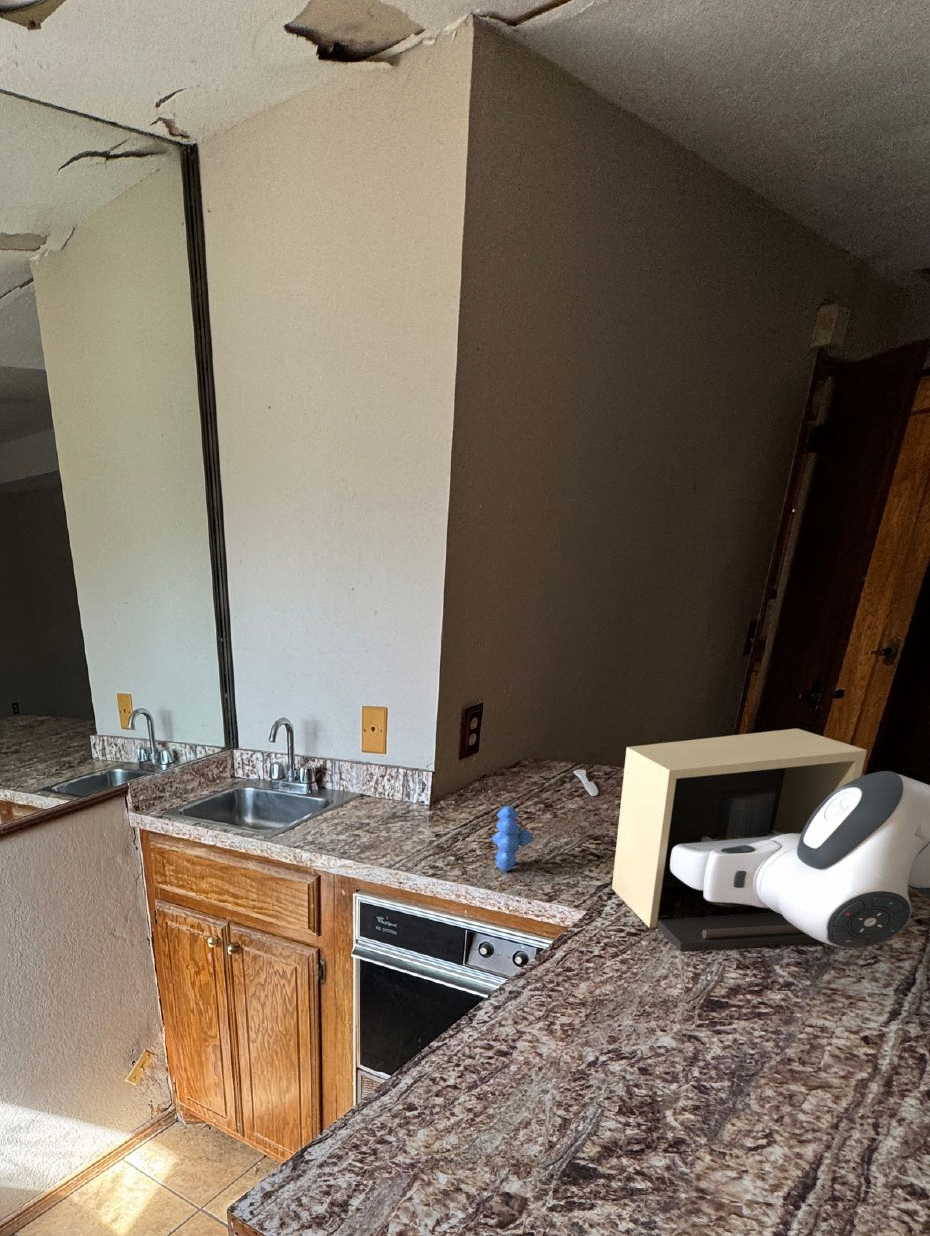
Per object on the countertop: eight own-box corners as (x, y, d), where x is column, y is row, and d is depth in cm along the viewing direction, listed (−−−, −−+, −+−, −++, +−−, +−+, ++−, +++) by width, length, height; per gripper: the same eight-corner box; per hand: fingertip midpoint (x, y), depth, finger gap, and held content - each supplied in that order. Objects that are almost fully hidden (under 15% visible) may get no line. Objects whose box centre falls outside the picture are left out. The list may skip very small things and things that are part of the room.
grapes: (534, 881, 131) (538, 812, 126) (490, 882, 133) (493, 814, 128) (529, 859, 141) (533, 793, 135) (489, 860, 143) (491, 796, 138)
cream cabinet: (768, 877, 119) (797, 728, 109) (864, 940, 98) (910, 763, 88) (611, 888, 124) (626, 747, 114) (671, 951, 103) (695, 784, 93)
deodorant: (763, 905, 106) (784, 796, 100) (715, 908, 107) (732, 801, 101) (743, 890, 111) (761, 786, 105) (697, 893, 113) (712, 790, 106)
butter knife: (586, 769, 188) (573, 770, 189) (601, 794, 168) (586, 795, 169) (586, 770, 188) (572, 771, 189) (601, 796, 168) (586, 797, 169)
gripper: (896, 838, 91) (828, 808, 103) (700, 855, 95) (657, 824, 107) (883, 889, 93) (818, 854, 106) (693, 903, 98) (652, 867, 110)
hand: (736, 839), depth 106 cm, fingers closed on deodorant, 6 cm apart
